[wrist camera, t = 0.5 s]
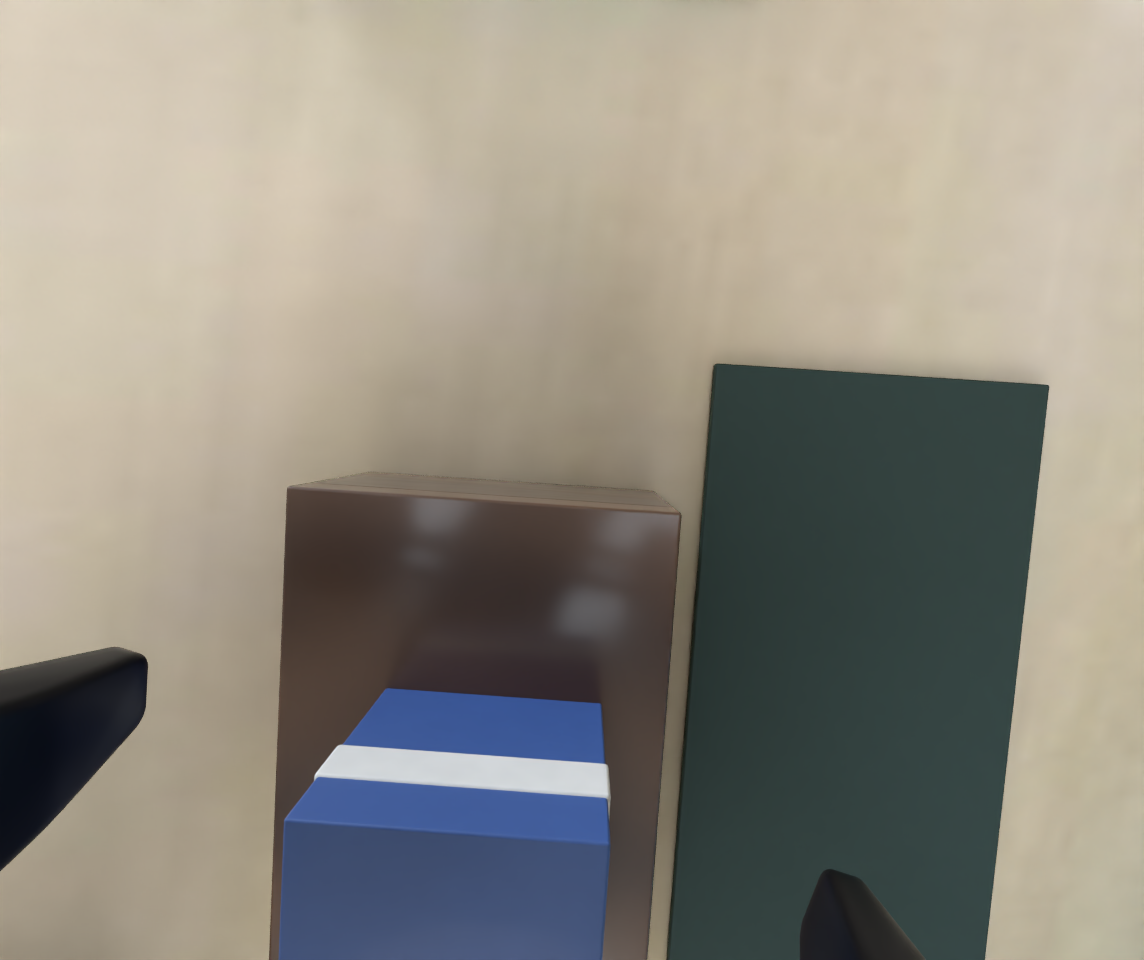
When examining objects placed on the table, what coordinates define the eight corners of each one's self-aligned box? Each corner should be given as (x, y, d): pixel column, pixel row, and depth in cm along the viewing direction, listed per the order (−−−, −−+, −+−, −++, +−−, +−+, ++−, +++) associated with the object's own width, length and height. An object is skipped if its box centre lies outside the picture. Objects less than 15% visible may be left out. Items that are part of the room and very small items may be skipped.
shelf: (619, 977, 23) (630, 1171, 17) (345, 956, 23) (261, 1141, 17) (655, 490, 22) (682, 512, 16) (368, 471, 22) (285, 486, 16)
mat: (972, 1004, 23) (979, 1014, 22) (664, 980, 23) (665, 990, 22) (1041, 385, 21) (1049, 385, 21) (713, 364, 21) (715, 363, 21)
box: (583, 992, 16) (583, 1272, 11) (369, 976, 17) (263, 1246, 11) (604, 700, 16) (614, 840, 10) (384, 684, 16) (279, 815, 11)
